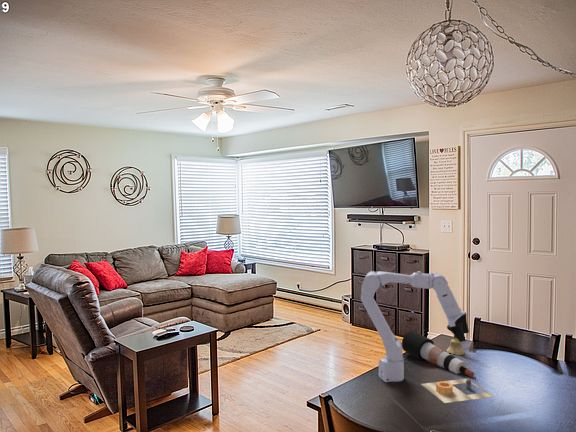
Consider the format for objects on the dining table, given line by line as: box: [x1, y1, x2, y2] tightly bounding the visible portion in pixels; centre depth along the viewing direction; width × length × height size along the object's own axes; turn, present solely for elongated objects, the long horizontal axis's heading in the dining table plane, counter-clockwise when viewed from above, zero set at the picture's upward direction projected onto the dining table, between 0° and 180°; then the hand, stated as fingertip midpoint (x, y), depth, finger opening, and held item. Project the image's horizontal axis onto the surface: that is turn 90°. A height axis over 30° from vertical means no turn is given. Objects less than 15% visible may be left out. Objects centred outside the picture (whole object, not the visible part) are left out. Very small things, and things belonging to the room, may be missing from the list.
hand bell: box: [445, 334, 466, 356], centre depth 203 cm, size 8×8×16 cm
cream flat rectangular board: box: [420, 378, 495, 404], centre depth 161 cm, size 20×16×4 cm
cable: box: [401, 330, 475, 378], centre depth 187 cm, size 10×34×10 cm, turn 26°
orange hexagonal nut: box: [436, 380, 454, 395], centre depth 160 cm, size 5×5×3 cm
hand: (464, 336), depth 166 cm, fingers open, 7 cm apart
